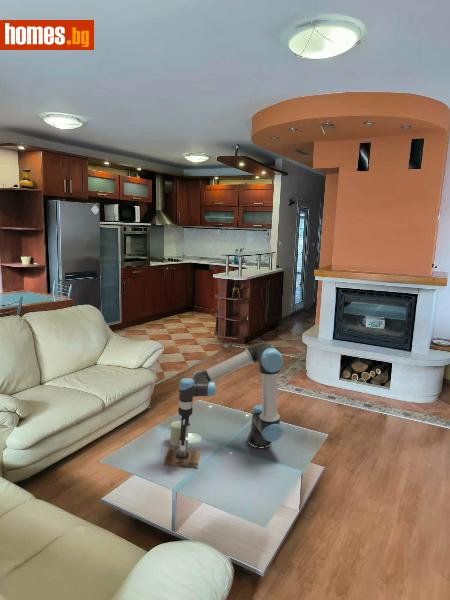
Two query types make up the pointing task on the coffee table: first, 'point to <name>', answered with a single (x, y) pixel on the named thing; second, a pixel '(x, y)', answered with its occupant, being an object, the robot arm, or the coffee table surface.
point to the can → (175, 433)
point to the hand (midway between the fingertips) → (184, 443)
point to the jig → (174, 461)
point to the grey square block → (182, 453)
